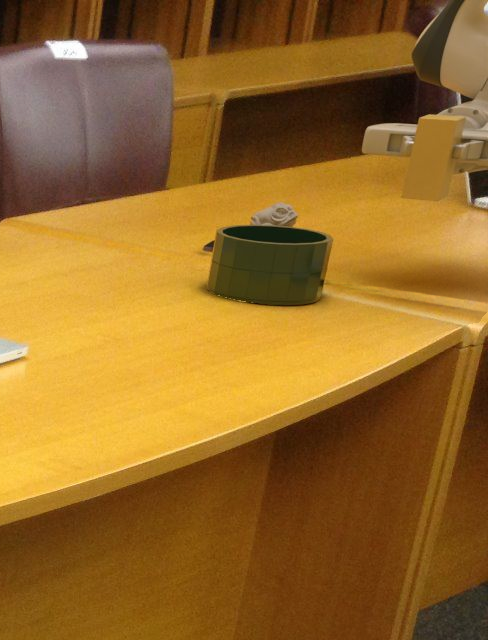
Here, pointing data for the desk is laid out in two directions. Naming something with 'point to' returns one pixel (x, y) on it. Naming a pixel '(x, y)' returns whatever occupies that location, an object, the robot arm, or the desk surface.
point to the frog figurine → (275, 216)
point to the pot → (269, 264)
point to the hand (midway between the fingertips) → (433, 150)
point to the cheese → (432, 157)
